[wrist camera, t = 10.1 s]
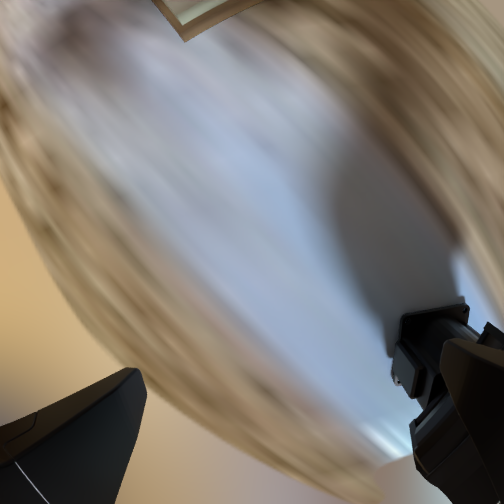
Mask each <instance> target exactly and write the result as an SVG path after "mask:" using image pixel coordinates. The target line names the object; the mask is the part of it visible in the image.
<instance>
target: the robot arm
mask: <svg viewBox="0 0 504 504" xmlns="http://www.w3.org/2000/svg"><path fill="white" fill-rule="evenodd" d="M464 308H465V310H464V311H463V309H464ZM469 311H470V307H469V306H468V305H467V304H466V303H462V304H457V305H452V306H447V307H441V308H436V309H430V310H425V311H419V312H413V313H407V314H404V315H403V316H402V317H401V320H400V329H399V339H398V341H397V343H396V345H395V354H394V361H393V371H394V376H393V382H394V384H395V385H396V386H401V385H402V386H403V388H404V389H405V391H406V393H407V394H408V396H409V397H410V398H411V399H415V398H416V399H417V401H418V402H419V404H420V406H421V407H422V409H423V412H422V413H421V414H420V415H419V416H418V417H417V418H416V419H414V420H413V421H412V422H411V423H410V424H409V427H410V434H411V441H412V448H413V456H414V461H415V465H416V469H417V470H418V471H419V472H420V473H421V475H422V476H423V477H424V478H425V479H426V480H427V481H428V482H429V483H431V484H432V485H434V486H436V487H438V488H439V489H440V490H441V491H442V492H443V493H444V494H445V495H446V496H447V497H448V499H449V500H450V501H451V502H452V504H504V333H503V332H502V331H500V330H499V329H498V328H496V327H495V326H493V325H492V324H491V323H489V322H487V323H486V325H485V327H484V331H483V332H482V334H481V335H480V334H479V333H478V332H476V331H475V330H474V329H473V328H472V327H470V326H469V325H468V324H467V323H468V317H469ZM407 319H409V321H408V322H406V323H405V321H406V320H407ZM398 380H399V381H398ZM146 399H147V390H146V387H145V384H144V381H143V377H142V374H141V372H140V370H139V369H138V368H129V367H126V368H124V369H122V370H120V371H118V372H116V373H114V374H112V375H110V376H108V377H106V378H104V379H102V380H100V381H98V382H96V383H94V384H92V385H90V386H88V387H86V388H84V389H82V390H80V391H78V392H76V393H74V394H72V395H70V396H68V397H66V398H63V399H61V400H59V401H57V402H55V403H53V404H51V405H49V406H47V407H45V408H42V409H41V410H38V411H37V412H34V413H32V414H29V415H27V416H25V417H23V418H20V419H18V420H16V421H14V422H11V423H8V424H5V425H3V426H0V504H115V501H116V498H117V495H118V492H119V489H120V486H121V483H122V480H123V477H124V474H125V471H126V468H127V465H128V463H129V460H130V457H131V454H132V452H133V449H134V446H135V443H136V440H137V437H138V433H139V429H140V425H141V420H142V416H143V412H144V407H145V403H146Z"/></svg>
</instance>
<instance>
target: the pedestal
mask: <svg viewBox="0 0 504 504" xmlns="http://www.w3.org/2000/svg"><path fill="white" fill-rule="evenodd" d="M262 1H264V0H152V2H153V3H154V4H155V5H156V6H157V8H158V9H159V10H160V11H161V13H162V14H163V15H164V16H165V18H166V19H167V20H168V21H169V23H170V24H171V25H172V27H173V28H174V29H175V30H176V32H177V33H178V34H179V36H180V37H181V38H182V40H183V41H184V42H187V41H188V40H190V39H192V38H193V37H195V36H197V35H198V34H200V33H202V32H203V31H205V30H207V29H209V28H210V27H212V26H214V25H216V24H218V23H219V22H221V21H223V20H225V19H227V18H229V17H231V16H233V15H235V14H237V13H239V12H241V11H243V10H245V9H247V8H249V7H251V6H253V5H255V4H257V3H260V2H262Z"/></svg>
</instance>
